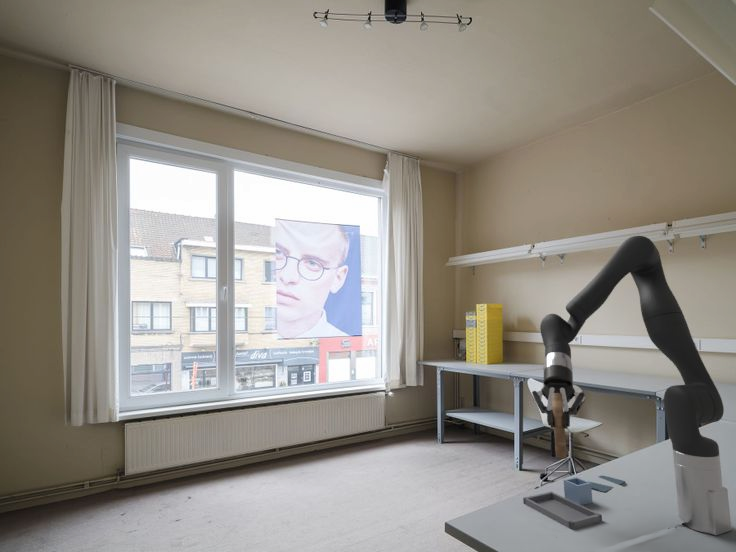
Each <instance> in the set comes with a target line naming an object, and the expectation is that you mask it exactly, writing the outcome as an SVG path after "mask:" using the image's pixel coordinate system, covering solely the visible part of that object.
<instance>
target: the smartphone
mask: <svg viewBox="0 0 736 552" xmlns="http://www.w3.org/2000/svg"><path fill="white" fill-rule="evenodd" d="M598 478H600V479H602V480H605V481H608V482H610V483H612V484H616V485H619V486H621V487H624V486H626V484H627V483H626V481H625V480H622V479H619V478H615V477H610V476H606V475H600V476H598ZM587 482H590V483H591V489H592V491H595V492H599V493H604V494H606V493H608V492H610V491H611V490H612V489H614V488H615V487H614V486H611V485H605V484H602V483H596V482H592V481H589V480H588V481H587Z"/></svg>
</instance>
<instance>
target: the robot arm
mask: <svg viewBox="0 0 736 552" xmlns="http://www.w3.org/2000/svg"><path fill="white" fill-rule="evenodd" d="M628 274H630V275H631V277H632V279H633V281H634V283H635V285H636V288H637V291H638V295H639V304H640V312H641V317H642V321H643V323H644V326H645V330H646V333H647V335H648V337H649V339H650V341H651V342H652V343H653V344H654V346H655V347H656V348H657V349H658V350H659V351H661V353H662V355H664V356H665V357H666V358H667V359H669V361H670V362H672V363H673V365H674V366H675V367H676V368H677V371H678V372H679V374H680V376H681V378H682V380H683V383H684V384H677V385H676V384H675V385H671V386H669V387H667V388H666V390H665V391H664V394H663V395H664V396H663V408H664V409H663V410H664V415H665V420H666V421H665V422H666V428H667V429H666V430H667V433H668V434H667V435H668V437H669V439H670V442H671V446H672V447H671V448H672V457H673V468H674V478H675V479H674V480H675V488H676V489H675V490H676V499H677V500H676V501H677V508H678V510H677V511H678V518H679V519H680V521H682V523H681V524H682V525H683V526H684V527H687V528H688V529H691V530H694V531H698V532H701V533H706V534H710V535H713V536H718V535H722V534H725V533H728V532H731V531H732V520H731V512H730V511H731V510H730V501H729V493H728V492H729V491H728V488H727V487H725V486H723V478H722V465H721V456H720V446H719V444H718V442H717V440H716V441H715V440H714V439H712V438H710V437H706V436H703V435H702V434H701V433H700V428H699V424H708V423H716V422H719V421H720V420H721V419H722V418H723V417H724V411H725V409H724V404H723V400H722V397H721V394H720V393H719V391H718V388H717V386H716V385H715V383H714V381H713V379H712V377H711V376H710V373H709V371H708V370H707V367H706V366H705V364H704V362H703V359H702V357H701V355H700V353H699V350H698V348H697V345H696V344H695V342H694V338H693V337H692V334H691V331H690V329H689V326H688V322H687V320H686V318H685V316H684V313H683V310H682V309H681V306H680V304H679V302H678V300H677V298H676V296H675V295H674V293H673V292H672V290H671V288H670V286H669V284H668V282H667V278H666V275H665V272H664V268H663V264H662V259H661V255H660V252H659V249H658V248H657V246H656V245H655V243H654V242H653V240H651V239H650V238H649V237H646V236H644V235H634V236H630V237H628V238H627V239H625V240H624V241H623V242H622V243H621V244H620V245H619V246H618V248H617V249H616V250H615V252H614V253H613V254H612V256H611V257H610V259H609V260H608V261H607V262H606V264H605V265H604V266H603V267H602V268H601V269H600V271H599V272H598V273H597V274H596V275H595V276H594V277H593V278H592V280H591V281H590V282H589V283H588V284H587V285H586V286H584V287H583V289H582V290H580V292H578V293H577V295H575V296H574V297H573V298H572V299H571V300H570V301H568V303H567V304H566V306H565V309H566V311H567V313H568V314H569V318H568V321H566V320H565V319H563V318H562V317H561V315H558V314H557V313H548V314H546V315H545V316H544V317H543V318H542V319H541V322H540V328H539V330H540V335H541V338H542V343H543V346H544V348H545V349H544V363H543V368H542V369H543V386H542V387H541V390H539V391H536V390H533V391H532V392H531V393H532V397H533V399H534V401H535V403H536V405H537V407H538V409H539V411H540V413H542V414H546V416H547V418H546V421H547V425H548V426H550V427H549V428H550V429H551V428H552V429H554V422H553V410H552V397H551V393H562V401H563V426H564V429H565V430H568V427H569V428H570V425H571V422H570V421H571V419H570V418H571V415H574V416H576V415H578V413H579V412H580V409H581V408H582V406H583V404H584V403H585V401H586V396H585V392H583V391H581V392H577V391H576V390H575V388H574V377H573V375H574V374H573V363H572V351H571V346H570V343H571V342H573V341H574V340H575V338H576V337H577V336H578V334H579V332H581V331H580V330H581V329H582V327H583V326H584V324H585V323H586V321H587V320H588V319H589V318H590V317H592V315H593V314H595V312H596V311H598V310H599V309H600V308H601V307H602V306H603V305H604V304H605V302H606V301H607V299H608V298H609V297H610V295H611V294H612V292H613V290H614V289H615V288H616V286H617V285H619V283H620V282H621V281H622V280H623V278H625V277H626V276H627V275H628ZM543 397H545V399H546V400H547V405H546V406H545V404H544V403H543V400H542V399H543ZM573 398H575V400H574V402H573V403H572V405H571V406H570V407H569V404H568V403H569V402H570V401H572V399H573Z"/></svg>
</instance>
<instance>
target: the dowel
mask: <svg viewBox="0 0 736 552" xmlns="http://www.w3.org/2000/svg"><path fill="white" fill-rule="evenodd" d="M551 397H552V410H553V422H554V428H553V433H554V448H555V449H554V450H555V458H557V459H562V460H563V459H568V453H567V441H566V429H564V426H563V412H564V408H563V401H562V393H551Z"/></svg>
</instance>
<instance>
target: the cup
mask: <svg viewBox="0 0 736 552" xmlns="http://www.w3.org/2000/svg"><path fill="white" fill-rule="evenodd" d="M590 482H591V481H589V482H588V481H587V480H585V479H582V478H580V477H571V478H567V479H563V491H564V498H566V499H569V500H571V501H573V502H575V503H577V504H579V505H582V506H584V505H585V506H586V505H588V504H592V503H593V490H592V489H591V483H590Z"/></svg>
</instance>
